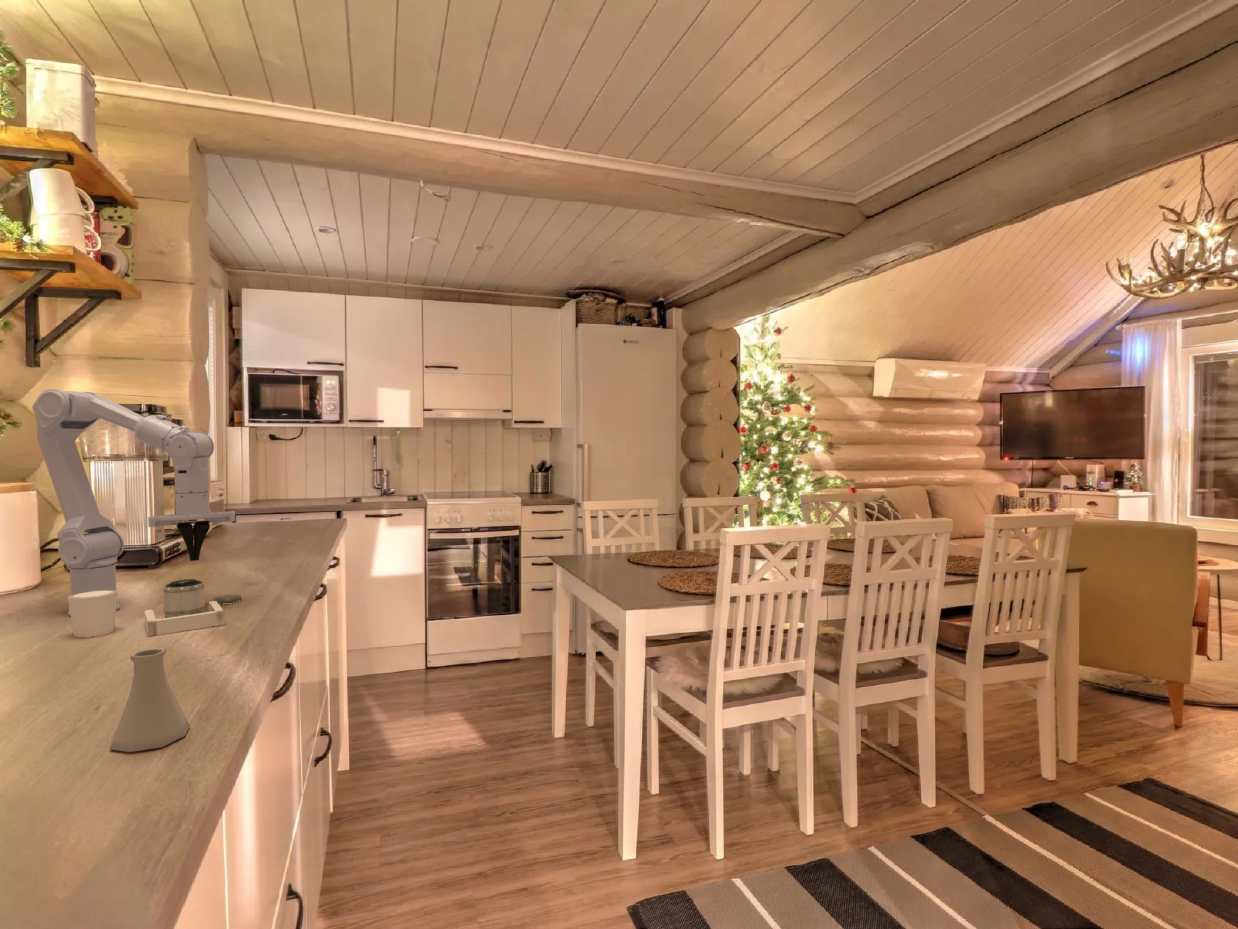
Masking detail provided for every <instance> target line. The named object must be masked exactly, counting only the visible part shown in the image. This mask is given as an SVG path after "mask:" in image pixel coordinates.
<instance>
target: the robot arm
mask: <svg viewBox="0 0 1238 929" xmlns="http://www.w3.org/2000/svg"><path fill="white" fill-rule="evenodd" d="M31 407H32V411H33V414H34V416H35V419H36V422H37V428H36V430H37V431H36V438H37V442H38V445H39V448H40V451H41V454H42V457H43V460H44V463H45V465H46V468H47V471H48V474H49V478H50V480H51V483H52V485H53V488H54V491H55V495H56V497H57V500H58V503H59V505H60V509H61V512H62V514H63V515H62V516H63V517H64V520H65V523H64V525H63V526H62V527H61V528H60V530H58V532H57V533H56V536H57V538H58V549H57V551H58V556H59V558H60V561H61V562H62V563H63V564H64V565H66V569H69V582H70V583H69V585H70V588H69V589H70V596H71V595H74V594H77V593H82V592H88V591H96V590H116V591H117V574H116V572H117V571H116V568H117V567H116V563H117V562H118V557H119V556H120V555H121V554H122V553H123V551H124V548H125V541H124V539H123V538H124V537H123V536H122V535H121V534H120V533H119V532H118V531H117V530H116V529H117V528H115V526H114V523H113V521H111V520H110V519H108V518H106V517H105V516H103V515H102V514H101V513H100V510H99V508H98V504H97V501H96V498H95V496H94V495H95V494H94V493H93V489H92V487H91V484H90V481H89V478H88V475H87V472H86V469H85V467H84V464H83V461H82V457H81V455H80V452H79V448H78V447H77V444H76V440H77V439H78V438H79V436H80V435H82V434H83V433H84V432H86V431H87V430H88V429H89V428H91V426H93V425H94V424H95V423H96V422H98V421H99V420H100V419H101V420H103V421H106V422H109V423H112V424H113V425H117V426H119V427H122V428H124V429H127V430H129V431H132V432H135V435H136V438H137V440H139V441H140V442H142V443H144V444H147V445H149V446H151V447H153V448H156V449H158V450H160V451H163V452H165V453H167V456H169V459H171V461H172V468H173V470H174V471H173V472H174V497H175V498H174V500H175V501H174V503H175V514H165V515H155V516H148V523H147V524H148V528H155V527H168V526H170V527H171V526H176V529H177V530H178V532H179V534H180V536H181V537H182V539H183V541H184V544H185V546H186V549H187V552H188V557H189V561H190V562H193V561H194V562H195V561H200V554H201V549H202V547H203V543H204V541H205V538H206V536H207V534H208V532H209V530H210V528H211V524H210V523H225V522H226V523H227V522H236V512H235V511H233V510H231V511H230V510H229V511H210V486H209V484H210V482H209V481H210V480H209V479H210V478H209V458H210V457H211V456H212V455H213V453H214V450H215V445H214V441H213V439H212V438H211V436H210V435H208V434H206V433H205V432H203V431H193V432H191V431H190V428H189V427H188V426H186V425H178V424H176V423H174V422H171V421H170V420H168V417H167V416H166V415H163V414H157V415H156V414H152V415H147V416H143V415H141V414H139V413H136V411H135V412H134V411H133V410H131V409H130V408H127V407H125V406H123V405H121V404H119V403H116V402H115V401H114V400H111V399H108V398H107V397H106V396H103V395H98V394H96V393H95V392H90V391H85V392H83V391H71V390H70V391H69V390H62V389H55V388H50V389H46V390H44V391H42V392H41V393H40V394H39V395H38V397H37V398H36V400H35V401H34V403H33V404H32V406H31ZM120 609H121V608H120V599H119V598H117V604H116V610H120ZM67 615H68V616H71V613H70V607H69V606H68V613H67Z"/></svg>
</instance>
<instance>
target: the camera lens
mask: <svg viewBox="0 0 1238 929" xmlns="http://www.w3.org/2000/svg"><path fill="white" fill-rule="evenodd" d="M205 603H206V601H205V584H204V582H203V581H201V580H197V579H194V578H191V579H188V578H187V579H180V580H175V581H171V582H170V583H167V584H165V586H164V587H163V605H164V607H163V609H164V618H171V617H178V616H185V615H192V614H199V613H206V607H205Z"/></svg>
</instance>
